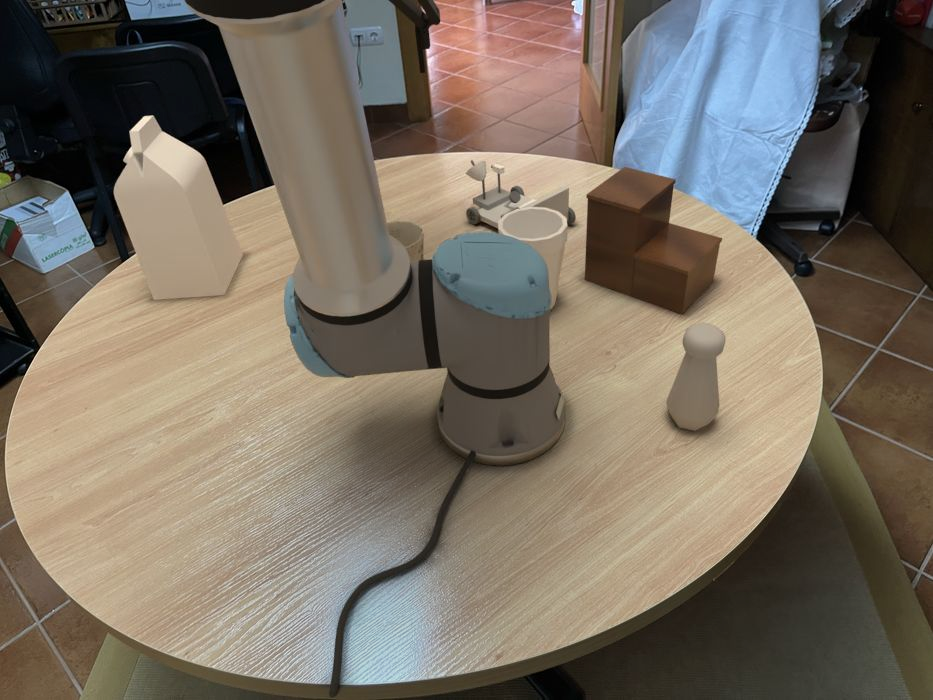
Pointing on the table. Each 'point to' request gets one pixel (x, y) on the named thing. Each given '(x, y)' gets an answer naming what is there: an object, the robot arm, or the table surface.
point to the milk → (175, 216)
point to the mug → (408, 238)
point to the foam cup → (539, 237)
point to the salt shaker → (697, 378)
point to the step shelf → (645, 242)
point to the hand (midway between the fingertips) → (377, 71)
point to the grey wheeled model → (511, 199)
